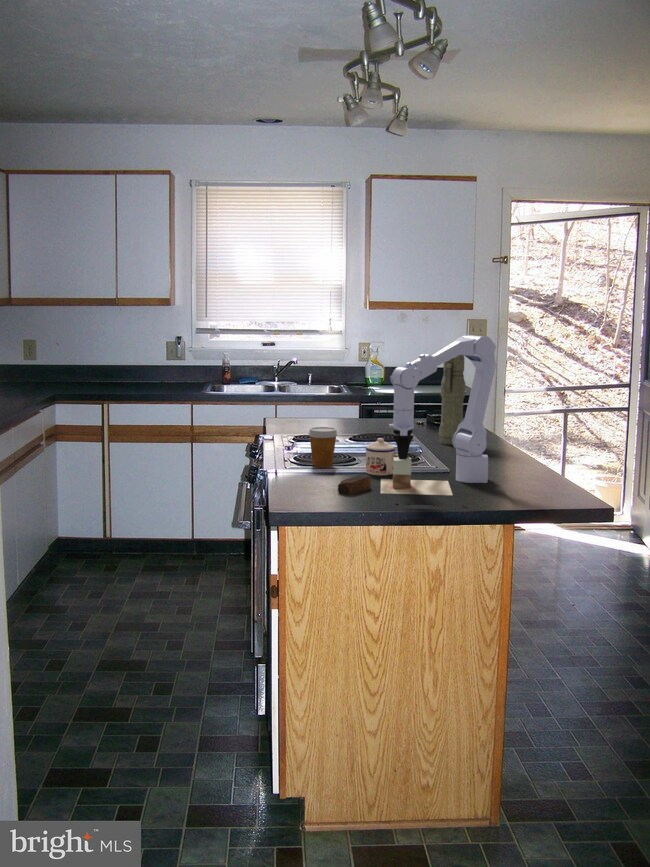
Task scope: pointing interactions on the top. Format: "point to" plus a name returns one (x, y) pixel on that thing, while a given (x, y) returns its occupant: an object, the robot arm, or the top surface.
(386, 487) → the build board
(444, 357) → the robot arm
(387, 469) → the teacup with lid
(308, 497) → the top surface
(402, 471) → the sage block
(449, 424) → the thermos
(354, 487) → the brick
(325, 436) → the disposable coffee cup
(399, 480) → the walnut block
